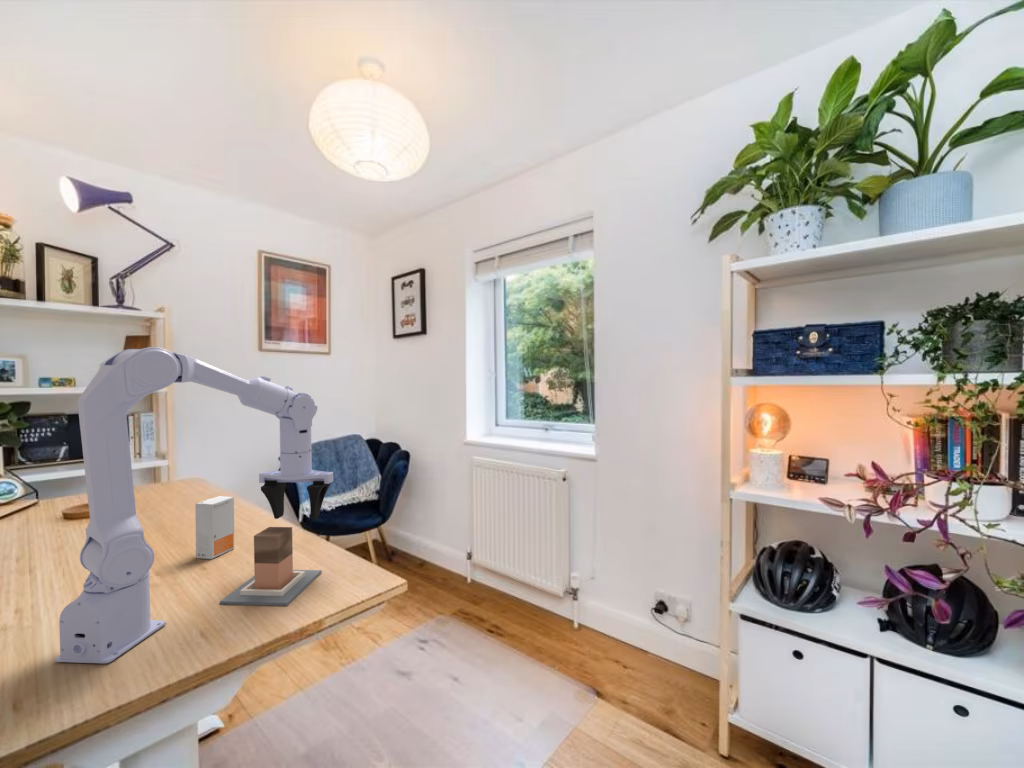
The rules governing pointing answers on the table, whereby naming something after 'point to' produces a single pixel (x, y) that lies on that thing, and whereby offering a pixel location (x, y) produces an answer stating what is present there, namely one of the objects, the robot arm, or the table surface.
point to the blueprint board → (271, 591)
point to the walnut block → (273, 545)
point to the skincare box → (214, 527)
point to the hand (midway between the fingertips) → (297, 517)
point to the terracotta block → (273, 574)
